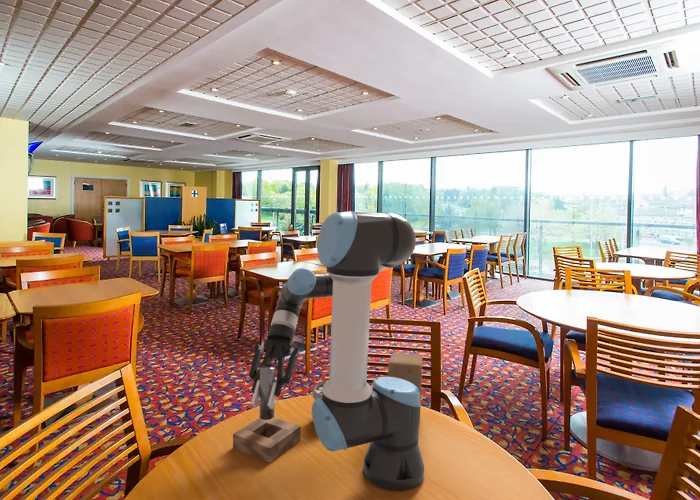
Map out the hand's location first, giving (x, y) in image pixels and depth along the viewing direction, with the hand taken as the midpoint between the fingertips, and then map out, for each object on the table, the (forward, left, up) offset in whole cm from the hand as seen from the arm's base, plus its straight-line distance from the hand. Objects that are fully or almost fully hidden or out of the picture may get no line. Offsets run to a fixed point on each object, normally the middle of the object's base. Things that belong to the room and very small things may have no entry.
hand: (261, 406), depth 113 cm
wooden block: (-26, -36, -13) cm, 46 cm away
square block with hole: (+1, -3, -12) cm, 13 cm away
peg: (+1, -4, -5) cm, 6 cm away
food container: (-4, -23, -13) cm, 27 cm away
